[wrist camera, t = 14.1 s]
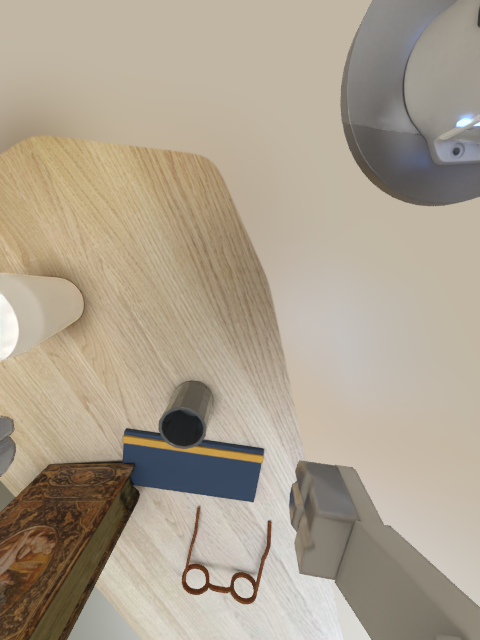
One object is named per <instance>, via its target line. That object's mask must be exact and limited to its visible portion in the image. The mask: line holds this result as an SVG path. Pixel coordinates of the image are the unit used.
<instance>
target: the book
mask: <svg viewBox="0 0 480 640" xmlns="http://www.w3.org/2000/svg"><path fill="white" fill-rule="evenodd" d="M133 470H134V466H133V464H122V463H107V464H59V465H49V466H48V467H47V468H46V469H44V470H43V471H42V472H41V473H40V474H39V475H38V476H37V477H36V478H35V479H34V480H33V481H32V482H31V483H30V484H29V485H28V486H27V487H26V488H25V489H24V490H23V491H22V492H21V493H20V494H19V495H18V496H17V497H16V498H15V499H14V500H13V501H12V502H11V503H10V504H9V505H8V506H7V507H5V508H4V510H2V511H1V512H0V640H67V638H68V637H69V634H70V632H71V631H72V629H73V627H74V625H75V623H76V621H77V619H78V617H79V615H80V613H81V611H82V609H83V607H84V605H85V603H86V601H87V599H88V597H89V596H90V594H91V592H92V590H93V588H94V586H95V584H96V582H97V580H98V578H99V576H100V574H101V572H102V570H103V568H104V566H105V564H106V562H107V560H108V559H109V557H110V555H111V553H112V551H113V549H114V547H115V545H116V543H117V541H118V539H119V537H120V535H121V533H122V531H123V529H124V527H125V525H126V523H127V521H128V520H129V518H130V516H131V514H132V512H133V510H134V508H135V506H136V504H137V502H138V499H139V496H140V493H139V491H138V490H137V489H136V488H135V487H134V486H133V485H132V483H131V480H130V476H131V475H132V472H133Z"/></svg>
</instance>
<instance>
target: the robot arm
mask: <svg viewBox="0 0 480 640" xmlns="http://www.w3.org/2000/svg"><path fill="white" fill-rule="evenodd" d="M404 98H405V103H406V108H407V111H408V114H409V116H410V118H411V120H412V122H413V124H414V125H415V127H416V128H417V129H418V130H419V132H420V133H421V134H422V135H423V136H424V138H425V139H426V141H427V144H428V148H429V152H430V155H431V158H432V160H433V162H434V163H435V164H437V165H441V166H442V165H460V164H478V163H480V0H458V1H456V2H455V3H454V4H453V5H451V6H450V7H449V8H447V9H446V10H445V11H443V12H442V13H441V14H440V15H438V16H437V17H436V18H435V19H434V20H433V21H432V22H431V23H430V24H429V25H428V26H427V27H426V29H425V30H424V31H423V32H422V34H421V35H420V37H419V38H418V40H417V42H416V44H415V45H414V47H413V50H412V52H411V54H410V57H409V60H408V63H407V67H406V71H405V78H404ZM453 150H454V151H455V155H453ZM13 431H14V423H13V419H11V418H9V417H6V416H0V477H1V476H2V475H3V474H4V473H5V472H6V471H7V469H8V468H9V466H10V465H11V463H12V462H13V460H14V456H15V452H16V445H15V442H14V441H13V440H12V438H11V437H10V435H11V434H12V432H13ZM295 473H296V477H297V481H296V482H295V483H294V484H292V488H291V493H290V503H289V508H290V519H291V525H292V526H293V528H294V529H295V530H296V532H297V535H296V539H295V543H294V544H295V549H296V555H297V561H298V567H299V573H300V574H304V575H310V576H315V577H321V578H326V579H332V580H335V583H336V585H337V586H338V588H339V590H340V591H341V593H342V594H343V596H344V597H345V599H346V600H347V602H348V604H349V605H350V607H351V608H352V610H353V611H354V613H355V614H356V616H357V618H358V619H359V621H360V622H361V624H362V625H363V627H364V628H365V630H366V631H367V633H368V635H369V636H370V638H371V639H372V640H480V607H479V606H478V605H477V604H475V603H474V602H473V601H472V600H471V599H470V598H469V597H468V596H467V595H466V594H464V593H463V592H462V591H461V590H460V589H459V588H458V587H457V586H455V584H453V583H452V582H451V581H450V580H449V579H448V578H447V577H446V576H445V575H444V574H442V573H441V572H440V571H439V570H438V569H437V568H436V567H435V566H434V565H433V564H431V563H430V562H429V561H428V560H427V559H426V558H425V557H424V556H423V555H422V554H421V553H419V552H418V551H417V550H416V549H415V548H414V547H413V546H412V545H410V543H408V542H407V541H406V540H405V539H404V538H403V537H402V536H401V535H400V534H399V533H397V532H396V531H395V530H394V529H393V528H392V527H391V526H388V525H384V524H383V522H382V520H381V518H380V516H379V514H378V512H377V510H376V508H375V506H374V504H373V502H372V500H371V499H370V497H369V495H368V493H367V491H366V489H365V487H364V485H363V483H362V481H361V479H360V477H359V475H358V473H357V472H356V470H355V469H354V468H353V467H346V466H338V465H328V464H321V463H314V462H307V461H300V460H299V462H298V464H297V467H296V471H295Z"/></svg>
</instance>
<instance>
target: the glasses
mask: <svg viewBox="0 0 480 640" xmlns="http://www.w3.org/2000/svg"><path fill="white" fill-rule="evenodd" d="M199 510H200V508H197V515H196V523H195V531H194V535H193V538H192V542H191V545H190V550H189V554H188V559H187V564H186V568H185V570H184V572H183V576H182V585H183V588H184V589H185V590H186V591H187V592H188V593H190V594H193V595H200V594H202V593H204V592H205V591H207V589H208V588H209V589H211V590H212V591H216V592H221V593H228V592H231V595H232V596H233V598H234V599H235V600H236V601H238V602H240V603H242V604H251V603H252V602H254V601H255V599H256V596H257V591H258V587H259V582H260V578H261V574H262V569H263V565H264V561H265V559H266V557H267V555H268V552H269V549H270V544H271V522H268V534H267V546H266V549H265V552H264V554H263V556H262V560H261V564H260V568H259V573H258V577H257V581H256V582H255V580H254V579H253V578H252V577H251V576H250V575H249V574H247V573H244V572H238V573H236V574H234V575H233V577H232V580H231V585H230V587H227V588H226V587H220V586H215V585H212V584H210V583H209V573H208V570H207V569H206V568H205V567H204V566H202V565H200V564H190V565H189V560H190V556H191V551H192V547H193V544H194V541H195V537H196V534H197V528H198V519H199ZM188 565H189V566H188ZM191 569H200V570H201V571H203V572H204V574H205V576H206V584H205V585H204V586H203V587H202V588H200V589H193V588H190V587H189V586H188V585H187V583H186V574H187V572H188V571H189V570H191ZM239 577H243V578H246V579H248V580H249V581H250V582H251V583H252V585H253V589H254V594H253V596H252V597H250V598H242V597H240V596H238V595H237V594H236V592H235V590H234V581H235V580H236V579H237V578H239Z"/></svg>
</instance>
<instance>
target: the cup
mask: <svg viewBox="0 0 480 640" xmlns="http://www.w3.org/2000/svg"><path fill="white" fill-rule="evenodd" d="M83 310H84V300H83V297H82V294H81V292H80V291H79V289H78V288H77V287H76V286H75V285H74V284H73V283H72V282H70V281H68V280H66V279H63V278H57V277H46V276H34V275H23V274H11V273H0V361H3V360H5V359H8V358H11V357H14V356H17V355H20V354H23V353H26V352H28V351H29V350H31V349H33V348H35V347H36V346H38V345H39V344H41V343H42V342H44V341H46V340H47V339H49V338H50V337H52V336H53V335H55V334H57V333H58V332H60V331H61V330H63V329H64V328H66V327H67V326H69V325H71V324H72V323H74V322H75V321H77V320H78V319H79V318H80V317H81V315H82V313H83Z"/></svg>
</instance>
